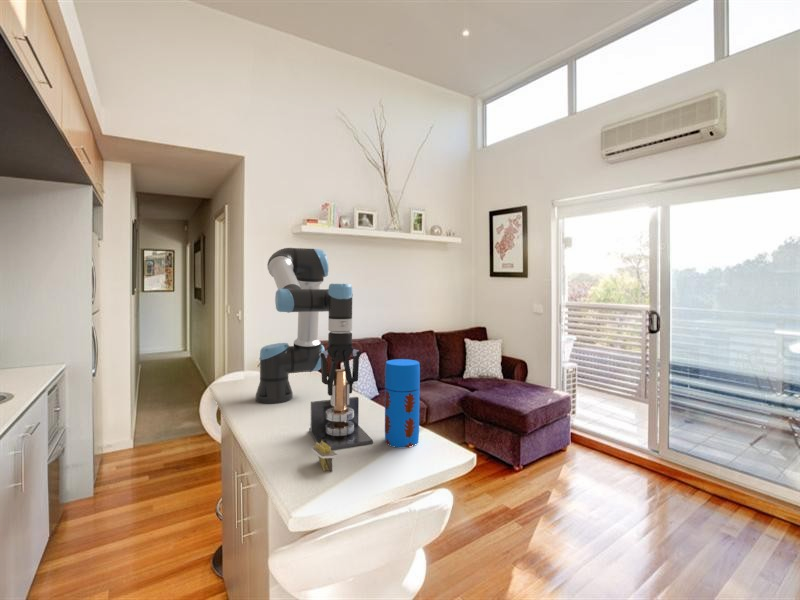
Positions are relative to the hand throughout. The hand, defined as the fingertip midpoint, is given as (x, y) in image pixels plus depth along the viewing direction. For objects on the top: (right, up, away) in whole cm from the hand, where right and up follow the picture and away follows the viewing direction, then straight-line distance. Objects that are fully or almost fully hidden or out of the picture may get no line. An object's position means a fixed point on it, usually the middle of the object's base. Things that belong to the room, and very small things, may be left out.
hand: (339, 404), depth 128 cm
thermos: (+20, -11, -3) cm, 23 cm away
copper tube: (0, -9, 0) cm, 9 cm away
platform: (-1, -12, -21) cm, 24 cm away
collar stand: (0, -11, 0) cm, 11 cm away
